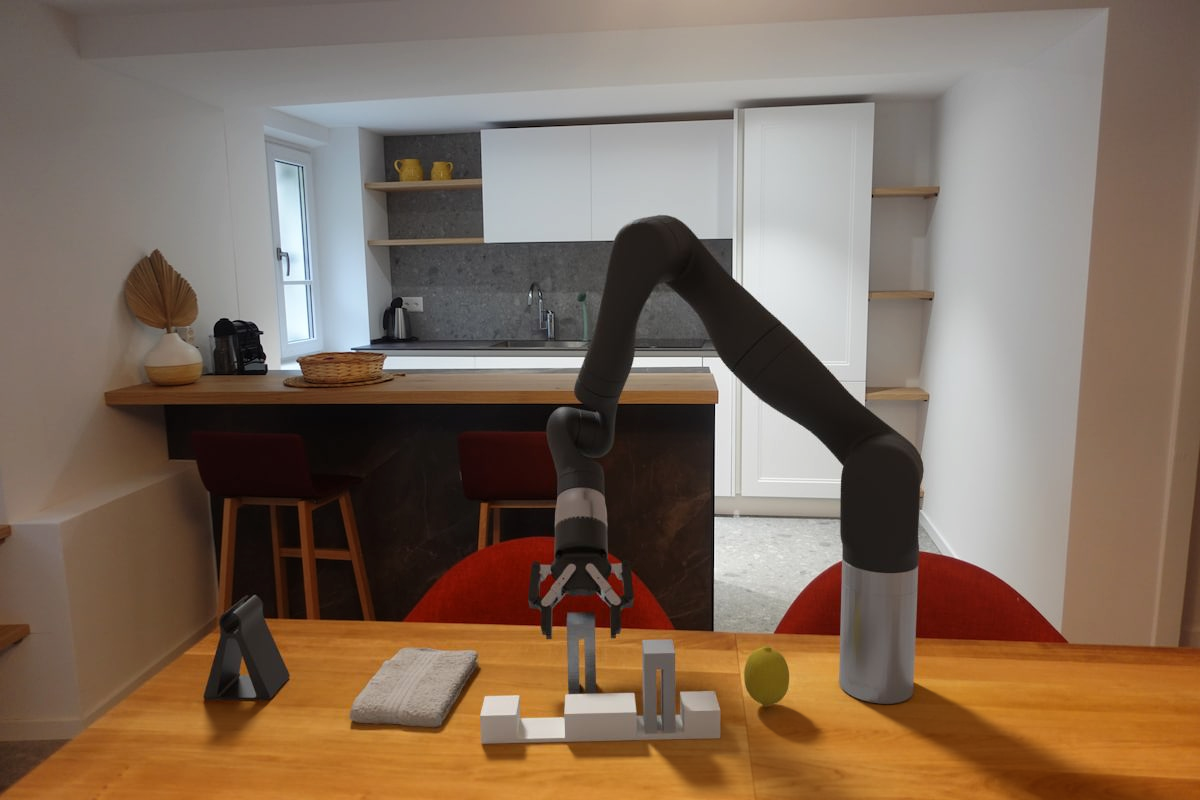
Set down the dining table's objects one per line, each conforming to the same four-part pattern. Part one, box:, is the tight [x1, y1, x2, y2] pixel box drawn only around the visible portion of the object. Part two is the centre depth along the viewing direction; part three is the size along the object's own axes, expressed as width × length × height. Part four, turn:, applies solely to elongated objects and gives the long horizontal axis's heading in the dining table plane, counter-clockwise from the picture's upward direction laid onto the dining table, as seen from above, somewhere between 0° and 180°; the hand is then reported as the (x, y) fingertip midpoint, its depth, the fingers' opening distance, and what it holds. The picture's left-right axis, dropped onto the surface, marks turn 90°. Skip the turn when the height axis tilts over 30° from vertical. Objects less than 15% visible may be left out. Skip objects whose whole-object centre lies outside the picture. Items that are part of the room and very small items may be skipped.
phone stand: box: [202, 594, 291, 701], centre depth 108 cm, size 9×6×12 cm, turn 87°
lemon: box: [743, 645, 790, 708], centre depth 101 cm, size 6×6×8 cm
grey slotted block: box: [566, 611, 597, 694], centre depth 106 cm, size 4×4×10 cm
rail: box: [479, 638, 721, 745], centre depth 96 cm, size 28×4×10 cm, turn 91°
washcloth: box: [349, 647, 479, 728], centre depth 107 cm, size 12×18×3 cm, turn 173°
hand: (581, 636), depth 107 cm, fingers open, 8 cm apart
